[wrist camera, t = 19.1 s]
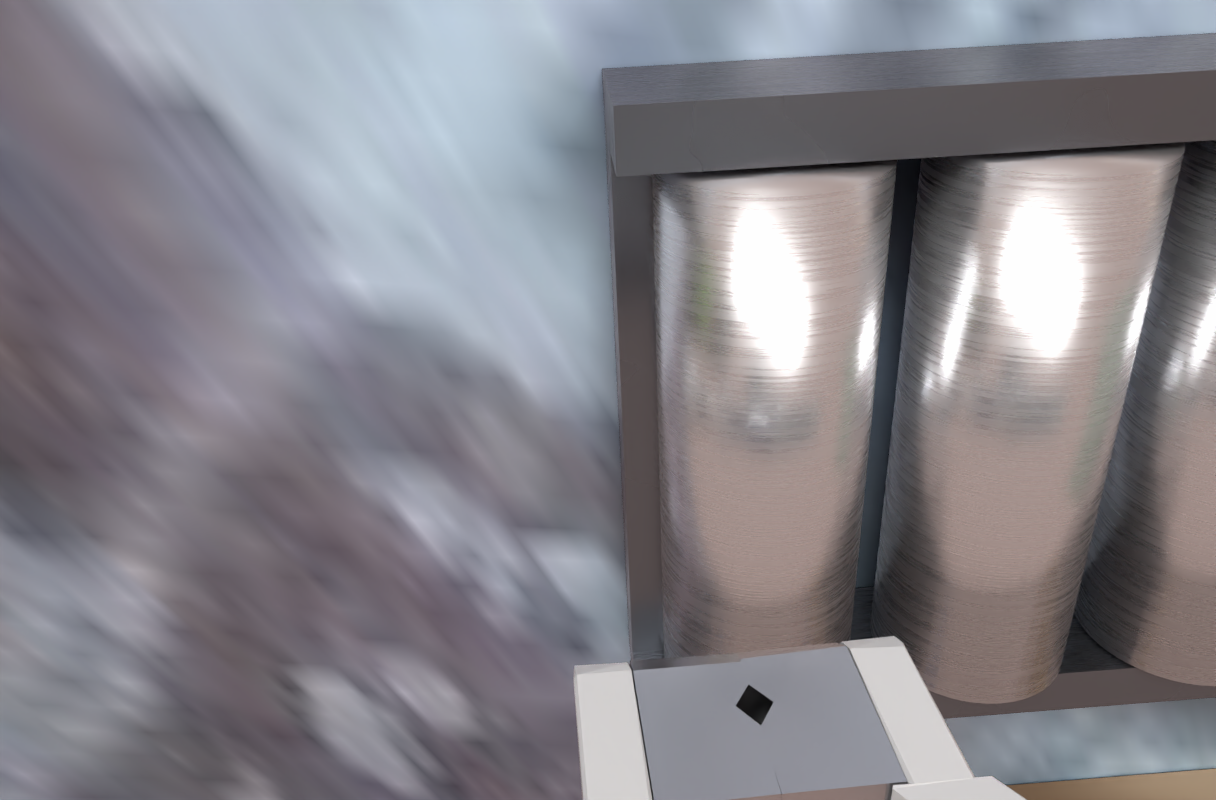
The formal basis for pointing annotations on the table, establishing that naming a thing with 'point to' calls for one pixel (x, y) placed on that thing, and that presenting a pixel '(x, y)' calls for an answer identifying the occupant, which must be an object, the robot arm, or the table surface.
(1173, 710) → the table surface
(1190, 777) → the block
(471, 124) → the table surface
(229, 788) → the table surface
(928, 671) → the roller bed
